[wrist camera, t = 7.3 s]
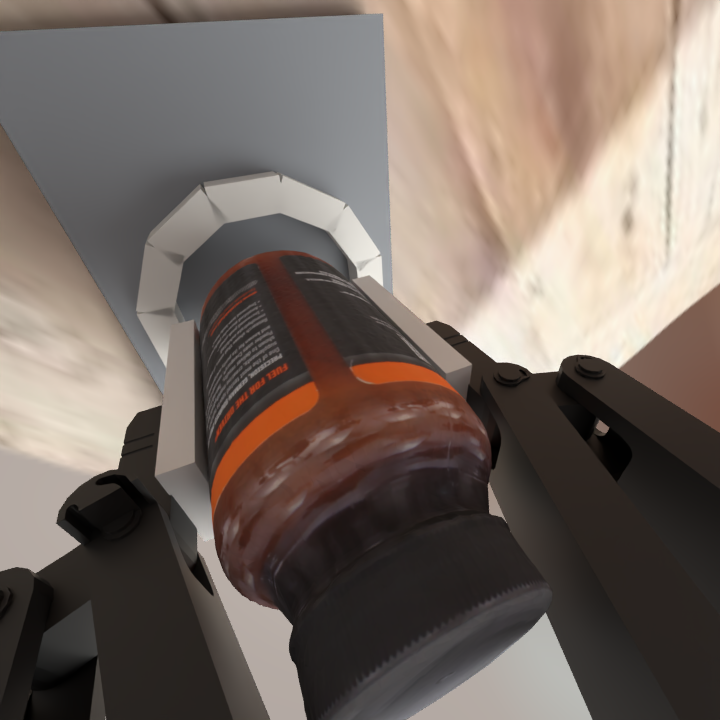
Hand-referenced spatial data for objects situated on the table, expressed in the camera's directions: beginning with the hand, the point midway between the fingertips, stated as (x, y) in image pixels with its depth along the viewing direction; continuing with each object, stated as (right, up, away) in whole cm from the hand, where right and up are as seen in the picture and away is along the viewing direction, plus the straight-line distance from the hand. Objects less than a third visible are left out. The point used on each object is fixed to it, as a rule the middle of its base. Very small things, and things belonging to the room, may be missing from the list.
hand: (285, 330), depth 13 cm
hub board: (-2, +3, +2) cm, 4 cm away
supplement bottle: (0, 0, 0) cm, 1 cm away
